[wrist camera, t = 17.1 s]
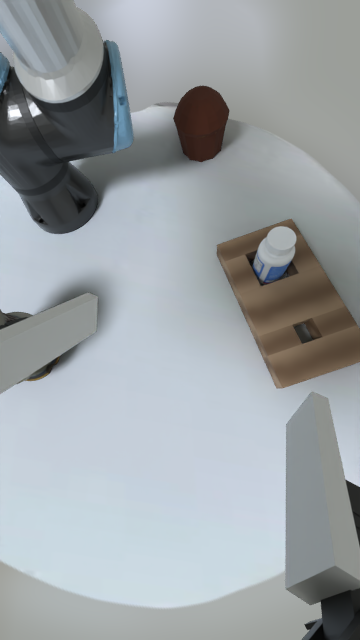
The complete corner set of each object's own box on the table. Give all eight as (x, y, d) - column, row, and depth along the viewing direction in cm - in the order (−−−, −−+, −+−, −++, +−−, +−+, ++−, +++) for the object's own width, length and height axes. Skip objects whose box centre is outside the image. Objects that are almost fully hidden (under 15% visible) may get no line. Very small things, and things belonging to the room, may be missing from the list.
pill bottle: (286, 266, 41) (309, 230, 32) (274, 290, 40) (294, 260, 31) (258, 255, 43) (271, 217, 33) (245, 278, 41) (256, 245, 32)
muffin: (233, 157, 50) (238, 103, 41) (185, 172, 51) (180, 122, 41) (217, 123, 54) (219, 67, 45) (172, 137, 55) (165, 84, 45)
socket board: (216, 254, 44) (217, 244, 41) (286, 229, 43) (291, 218, 41) (276, 388, 35) (282, 388, 32) (363, 359, 35) (376, 356, 32)
